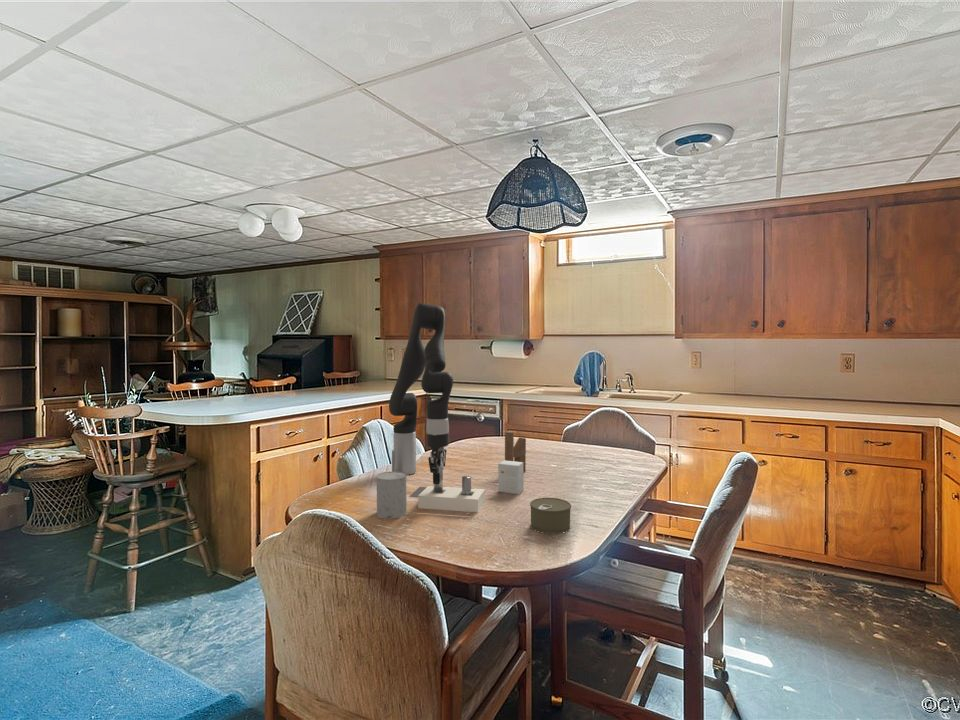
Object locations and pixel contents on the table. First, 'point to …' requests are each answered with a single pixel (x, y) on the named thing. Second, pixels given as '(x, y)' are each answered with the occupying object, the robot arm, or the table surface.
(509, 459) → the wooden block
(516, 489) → the small box
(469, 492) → the seated pin
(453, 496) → the bore block
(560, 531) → the can
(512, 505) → the table surface
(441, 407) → the robot arm
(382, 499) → the grey concrete cylinder
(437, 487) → the steel pin
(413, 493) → the mat
